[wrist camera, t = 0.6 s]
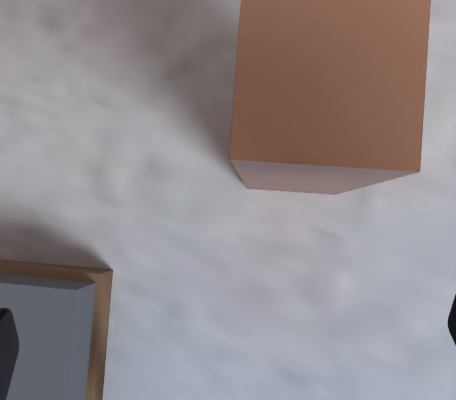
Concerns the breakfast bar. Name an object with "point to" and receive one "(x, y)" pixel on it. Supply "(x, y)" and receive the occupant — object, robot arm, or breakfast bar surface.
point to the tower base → (99, 312)
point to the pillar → (329, 93)
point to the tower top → (49, 336)
